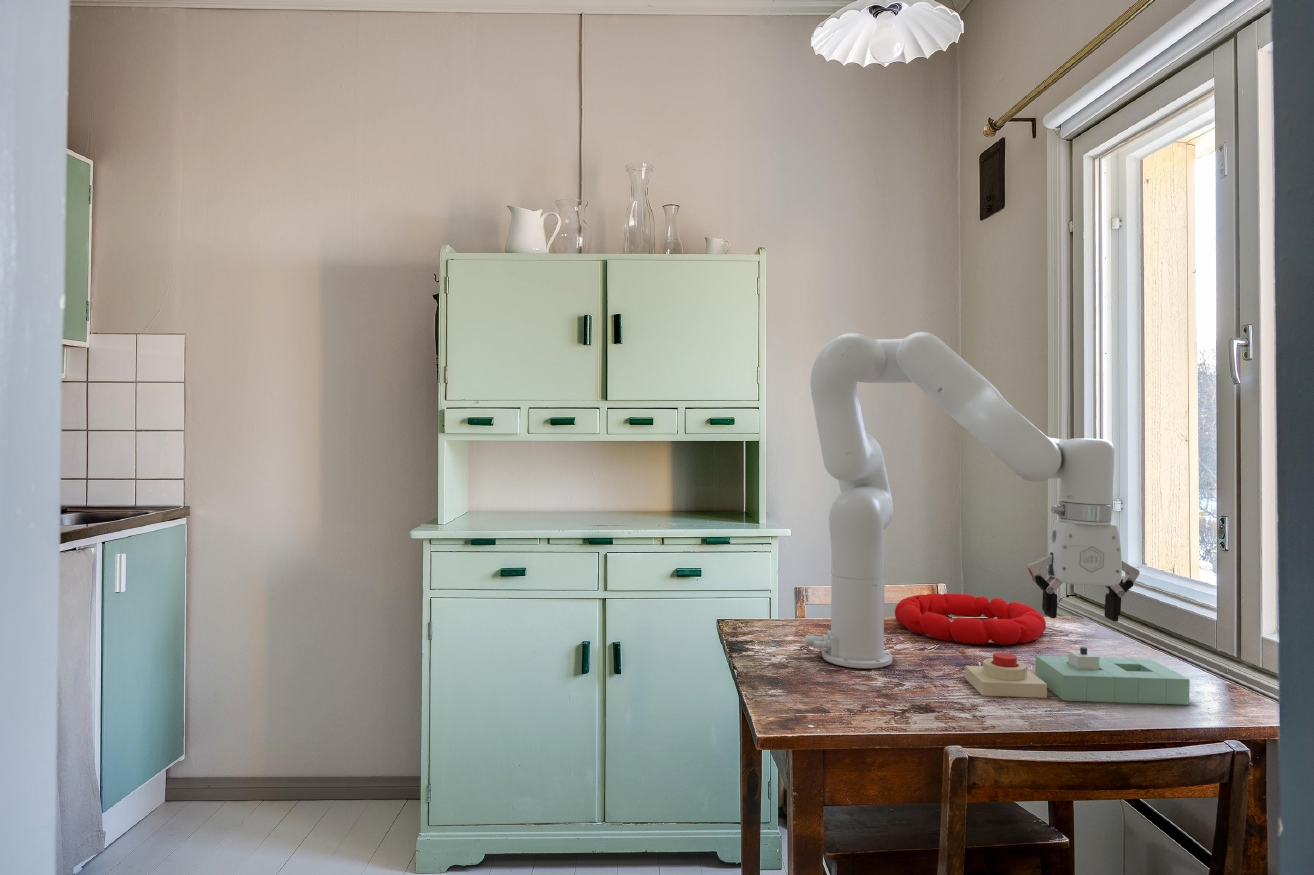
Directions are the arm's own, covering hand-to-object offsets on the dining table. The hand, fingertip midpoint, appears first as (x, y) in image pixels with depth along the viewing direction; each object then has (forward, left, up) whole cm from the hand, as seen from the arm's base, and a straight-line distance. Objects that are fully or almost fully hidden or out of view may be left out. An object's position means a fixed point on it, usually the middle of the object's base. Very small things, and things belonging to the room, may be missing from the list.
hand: (1080, 618), depth 130 cm
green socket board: (+4, 0, -12) cm, 13 cm away
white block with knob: (0, 0, -12) cm, 12 cm away
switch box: (-12, 0, -12) cm, 17 cm away
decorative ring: (-6, +40, -12) cm, 42 cm away
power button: (-12, 0, -8) cm, 15 cm away
